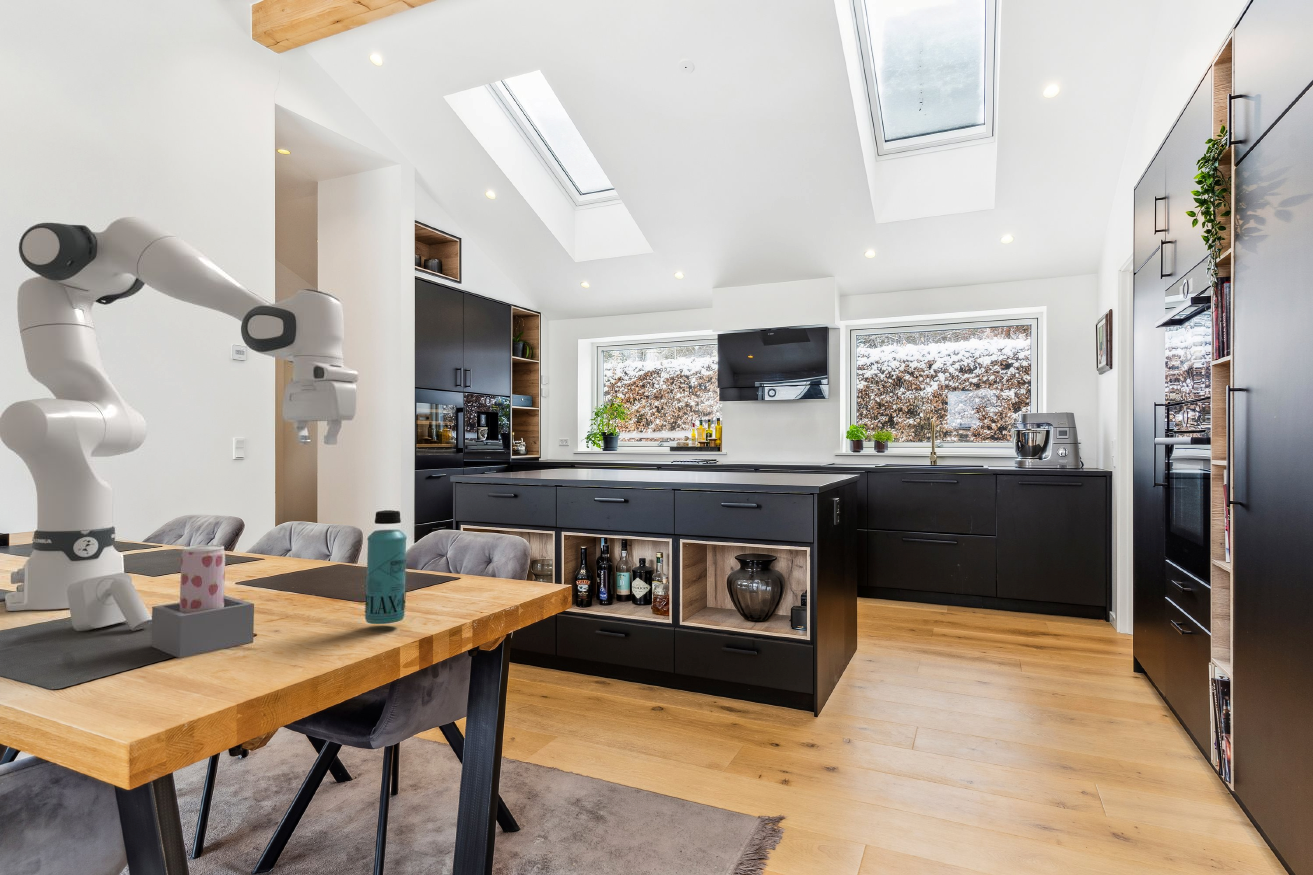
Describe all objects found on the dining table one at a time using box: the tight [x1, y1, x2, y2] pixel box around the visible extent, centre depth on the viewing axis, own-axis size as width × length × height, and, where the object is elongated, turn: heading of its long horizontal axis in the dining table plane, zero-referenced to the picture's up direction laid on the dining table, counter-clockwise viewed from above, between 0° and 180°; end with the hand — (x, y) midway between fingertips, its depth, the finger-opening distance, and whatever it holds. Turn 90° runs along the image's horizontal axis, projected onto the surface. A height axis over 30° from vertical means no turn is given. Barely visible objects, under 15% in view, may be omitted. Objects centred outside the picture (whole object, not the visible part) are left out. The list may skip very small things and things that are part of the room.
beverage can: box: [179, 544, 226, 614], centre depth 103 cm, size 6×6×15 cm
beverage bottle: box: [364, 509, 408, 625], centre depth 114 cm, size 6×7×20 cm
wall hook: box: [67, 572, 152, 632], centre depth 111 cm, size 8×10×10 cm
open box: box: [150, 594, 255, 659], centre depth 103 cm, size 10×10×6 cm
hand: (316, 444), depth 130 cm, fingers open, 8 cm apart
